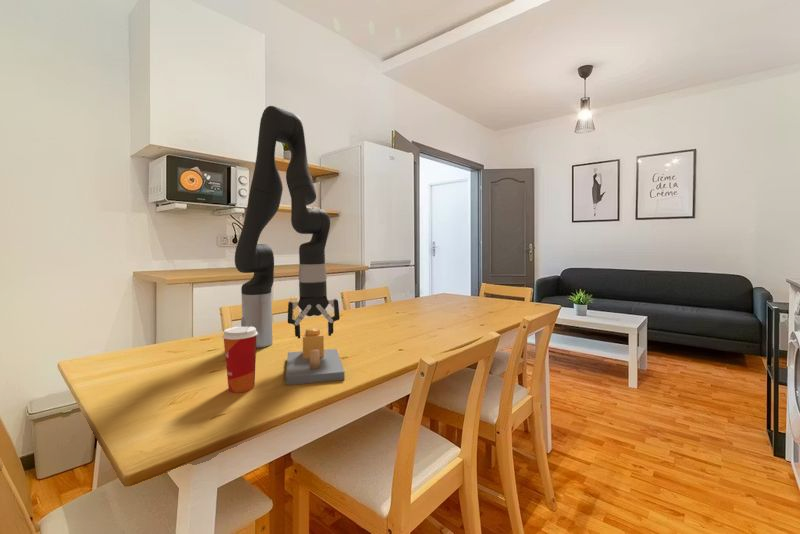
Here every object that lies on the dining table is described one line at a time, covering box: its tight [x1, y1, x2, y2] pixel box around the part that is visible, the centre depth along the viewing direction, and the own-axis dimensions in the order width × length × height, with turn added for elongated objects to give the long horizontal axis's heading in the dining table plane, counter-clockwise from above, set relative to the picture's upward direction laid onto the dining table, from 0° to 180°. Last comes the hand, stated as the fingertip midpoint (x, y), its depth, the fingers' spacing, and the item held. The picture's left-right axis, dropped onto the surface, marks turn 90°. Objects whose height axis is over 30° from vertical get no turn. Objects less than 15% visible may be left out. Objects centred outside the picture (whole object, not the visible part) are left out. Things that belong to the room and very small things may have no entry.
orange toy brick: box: [302, 327, 325, 358], centre depth 105 cm, size 6×6×7 cm
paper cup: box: [221, 325, 258, 394], centre depth 86 cm, size 8×8×14 cm
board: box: [285, 348, 346, 386], centre depth 100 cm, size 14×20×6 cm
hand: (314, 336), depth 105 cm, fingers open, 8 cm apart
